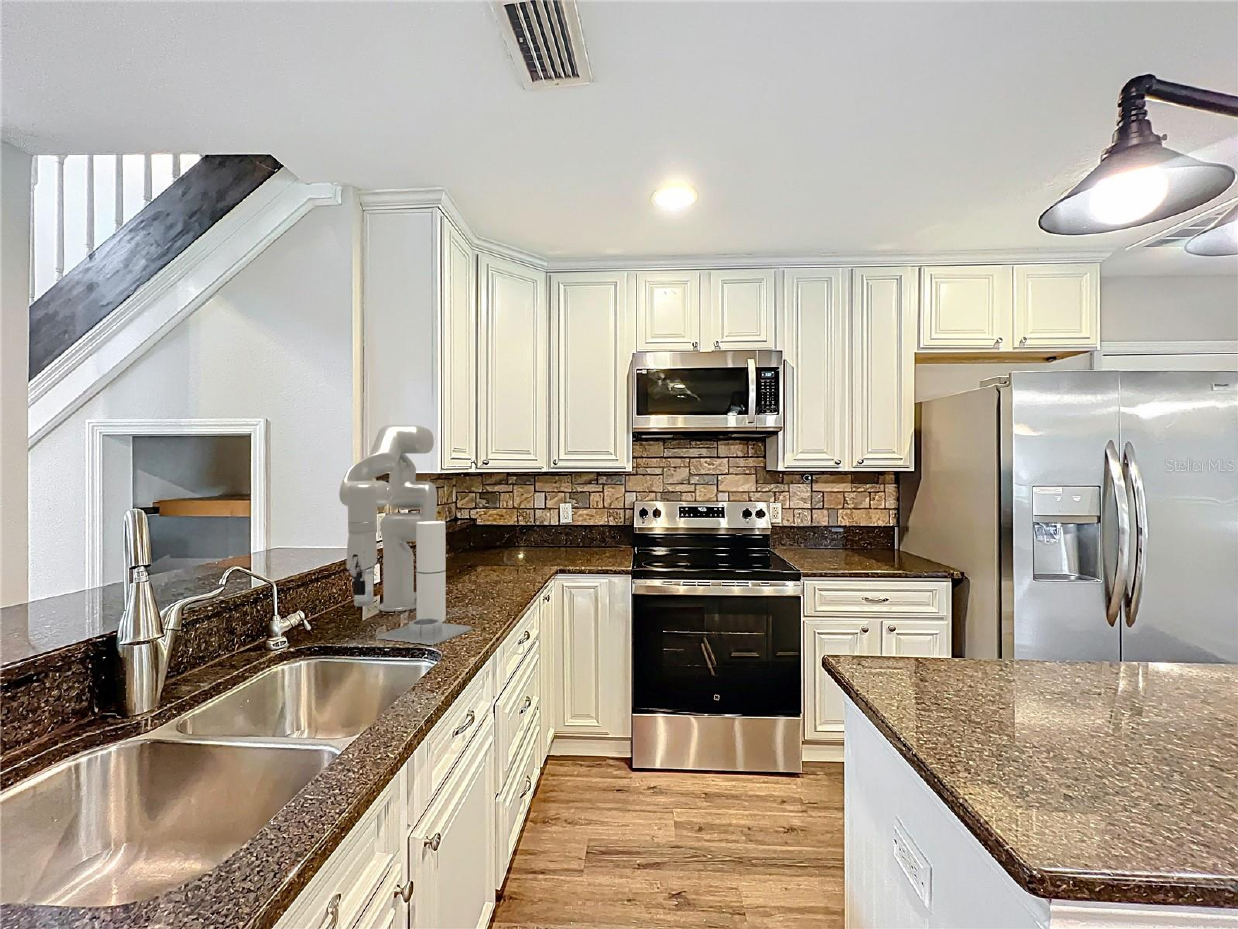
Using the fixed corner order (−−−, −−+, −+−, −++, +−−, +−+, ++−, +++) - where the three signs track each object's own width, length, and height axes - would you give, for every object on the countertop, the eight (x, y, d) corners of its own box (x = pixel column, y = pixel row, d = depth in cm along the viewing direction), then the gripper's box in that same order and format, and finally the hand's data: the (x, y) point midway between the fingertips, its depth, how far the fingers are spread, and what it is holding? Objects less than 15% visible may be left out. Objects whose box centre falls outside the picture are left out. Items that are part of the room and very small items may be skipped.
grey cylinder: (363, 601, 183) (363, 566, 182) (378, 602, 181) (377, 567, 181) (349, 605, 178) (349, 569, 178) (364, 607, 176) (363, 571, 176)
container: (410, 622, 194) (410, 523, 194) (428, 616, 202) (428, 520, 202) (433, 624, 191) (433, 524, 191) (451, 618, 199) (451, 521, 199)
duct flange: (420, 624, 192) (420, 612, 192) (471, 629, 185) (471, 617, 185) (377, 639, 175) (377, 626, 175) (431, 646, 169) (431, 632, 169)
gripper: (362, 523, 187) (363, 585, 188) (335, 532, 170) (336, 600, 171) (388, 523, 187) (388, 585, 188) (363, 532, 170) (364, 600, 171)
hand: (363, 591), depth 179 cm, fingers closed on grey cylinder, 5 cm apart
